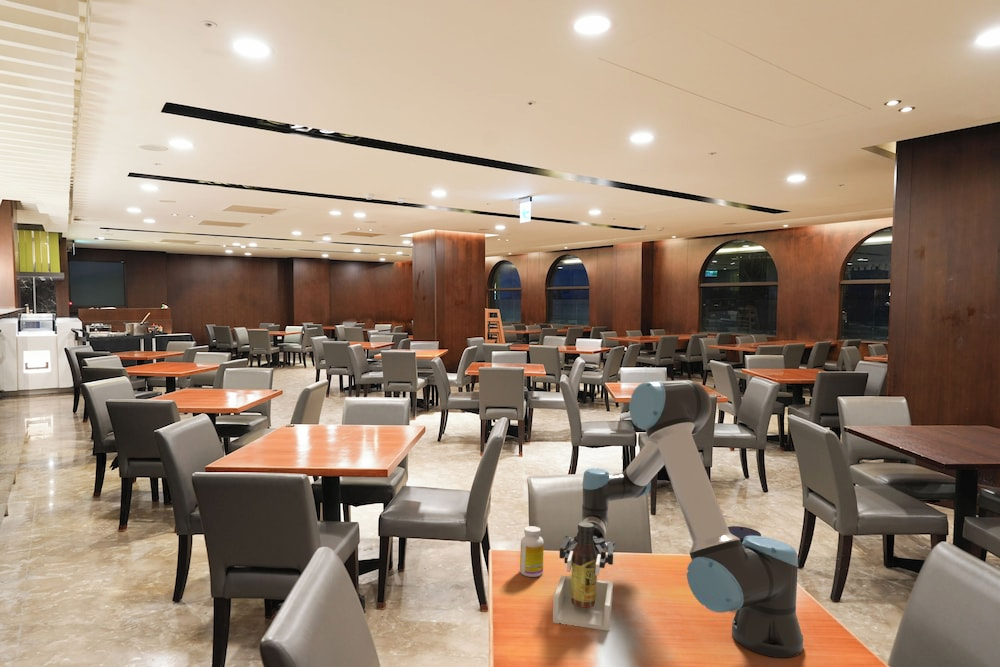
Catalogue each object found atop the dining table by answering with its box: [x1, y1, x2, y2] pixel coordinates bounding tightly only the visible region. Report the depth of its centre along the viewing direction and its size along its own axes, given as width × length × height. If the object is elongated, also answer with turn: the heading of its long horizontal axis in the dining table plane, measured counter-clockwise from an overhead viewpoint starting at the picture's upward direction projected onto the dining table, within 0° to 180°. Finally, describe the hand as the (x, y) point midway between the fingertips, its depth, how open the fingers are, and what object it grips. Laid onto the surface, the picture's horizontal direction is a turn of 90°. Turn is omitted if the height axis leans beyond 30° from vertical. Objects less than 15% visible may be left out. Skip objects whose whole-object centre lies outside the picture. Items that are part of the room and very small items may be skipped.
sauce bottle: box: [571, 521, 598, 608], centre depth 149 cm, size 7×6×20 cm
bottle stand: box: [552, 575, 614, 632], centre depth 149 cm, size 13×13×6 cm
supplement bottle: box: [519, 525, 545, 578], centre depth 172 cm, size 7×7×13 cm
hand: (582, 568), depth 144 cm, fingers closed on sauce bottle, 6 cm apart
